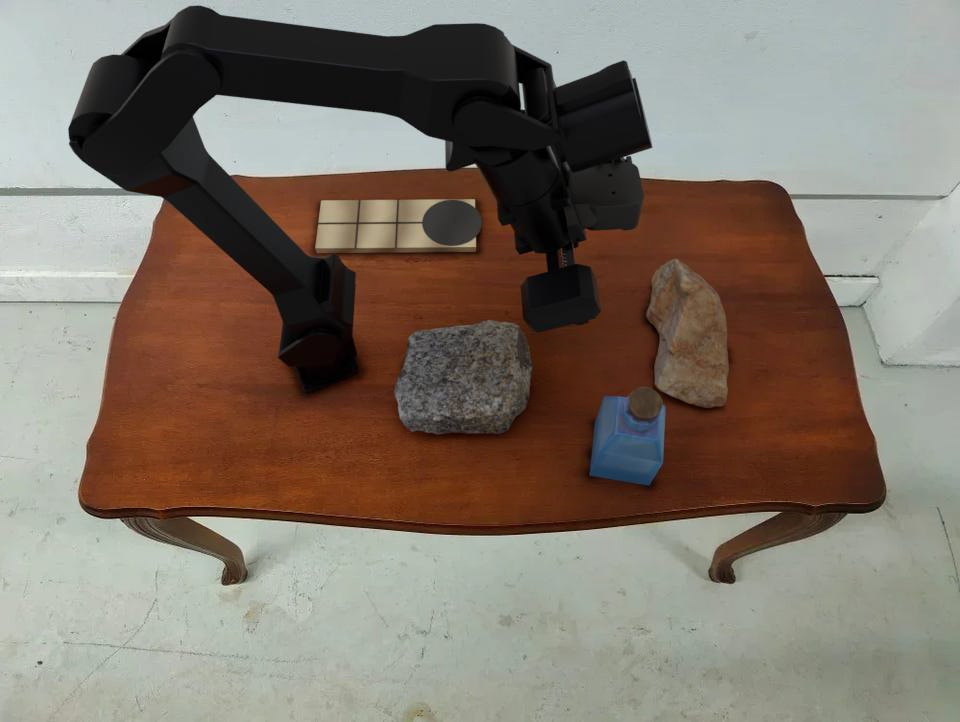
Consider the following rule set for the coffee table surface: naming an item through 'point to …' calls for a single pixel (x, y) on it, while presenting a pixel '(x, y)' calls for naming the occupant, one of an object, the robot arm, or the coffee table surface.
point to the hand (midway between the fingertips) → (578, 283)
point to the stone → (689, 336)
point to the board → (397, 226)
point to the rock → (464, 378)
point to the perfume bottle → (629, 437)
